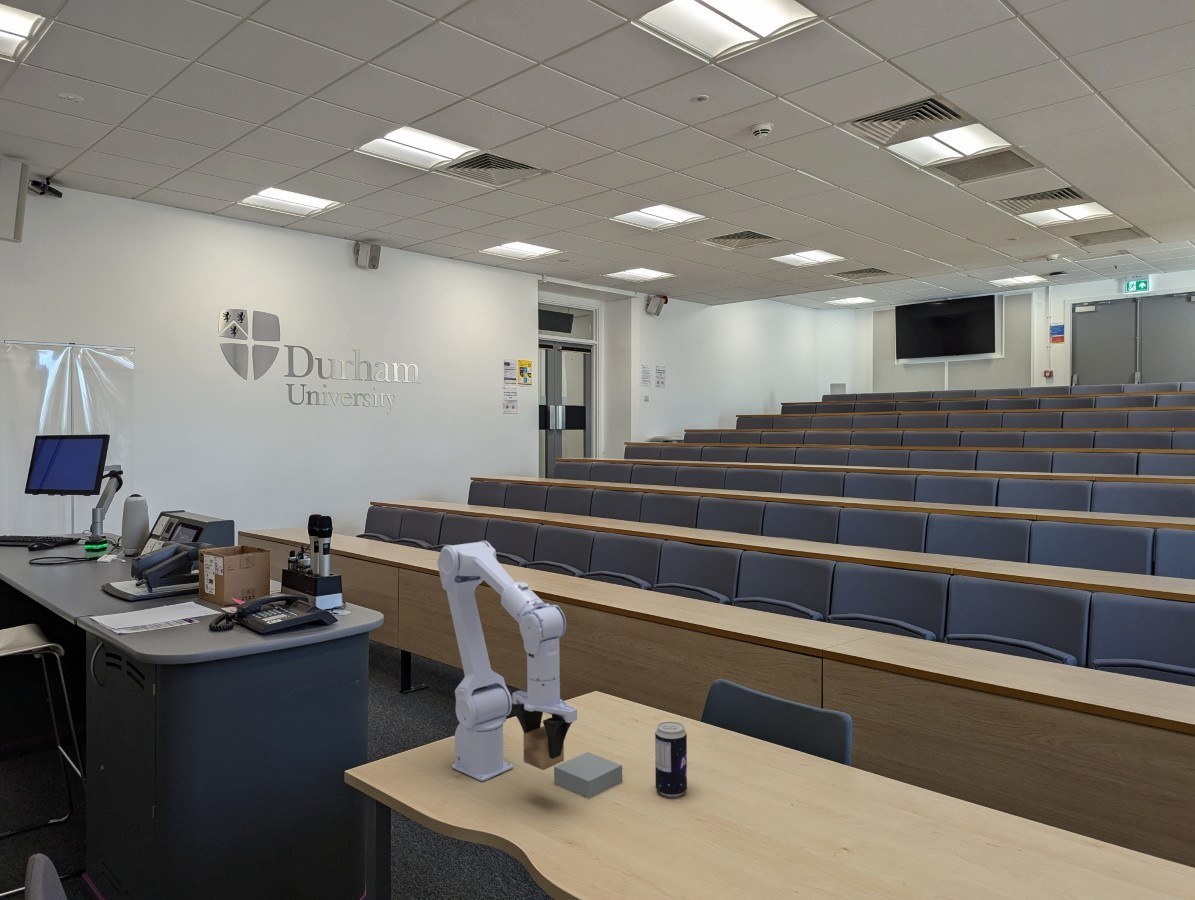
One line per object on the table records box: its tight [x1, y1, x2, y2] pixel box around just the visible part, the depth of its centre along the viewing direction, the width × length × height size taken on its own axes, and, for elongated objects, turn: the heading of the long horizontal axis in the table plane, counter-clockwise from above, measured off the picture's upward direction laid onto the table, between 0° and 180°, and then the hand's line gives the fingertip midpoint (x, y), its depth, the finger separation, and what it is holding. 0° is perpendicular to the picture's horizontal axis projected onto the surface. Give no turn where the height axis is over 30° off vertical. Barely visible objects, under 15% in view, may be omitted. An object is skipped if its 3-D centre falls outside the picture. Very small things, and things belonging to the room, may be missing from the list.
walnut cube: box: [522, 725, 565, 771], centre depth 138 cm, size 5×5×5 cm
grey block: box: [553, 751, 623, 800], centre depth 146 cm, size 9×9×4 cm
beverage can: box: [654, 721, 688, 798], centre depth 142 cm, size 6×6×12 cm
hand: (544, 752), depth 139 cm, fingers closed on walnut cube, 5 cm apart
